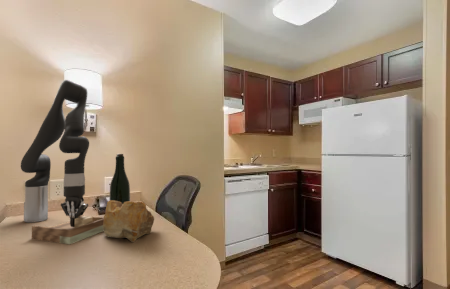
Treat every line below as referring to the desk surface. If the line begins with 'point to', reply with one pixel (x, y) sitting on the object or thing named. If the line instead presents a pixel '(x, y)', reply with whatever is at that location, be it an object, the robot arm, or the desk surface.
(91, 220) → the birch block
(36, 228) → the tray
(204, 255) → the desk surface
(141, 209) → the rough brown rock
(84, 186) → the robot arm
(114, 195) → the dark green wine bottle
